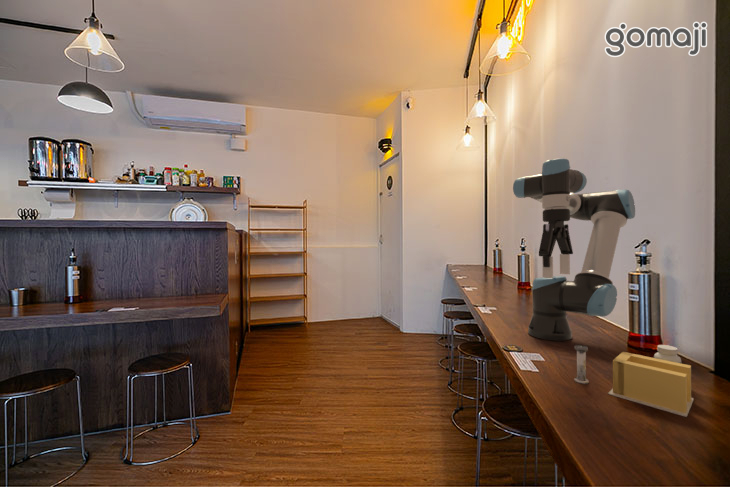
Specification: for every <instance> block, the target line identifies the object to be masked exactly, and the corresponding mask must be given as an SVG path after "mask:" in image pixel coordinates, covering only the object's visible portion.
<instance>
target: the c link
mask: <svg viewBox="0 0 730 487" xmlns="http://www.w3.org/2000/svg"><path fill="white" fill-rule="evenodd" d="M612 388H613V393H616V394H620V395H623V396H627V397H630V398H634V399H637V400H641V401H644V402H648V403H651V404H655V405H658V406H662V407H665V408H669V409H672V410H676V411H679V412H683V413H686V411H687V402H690V401H691V398H692V365H690V364H685V363H682V362H681V363H676V362H671V361H666V360H661V359H656V358H654V357H650V356H645V355H641V354H637V353H636V354H635V353H631V352H626V351H622V352H621V353H619V355H617V356H616V357H615V358H614V359H613V360H612Z"/></svg>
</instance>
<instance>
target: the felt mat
mask: <svg viewBox="0 0 730 487" xmlns="http://www.w3.org/2000/svg"><path fill="white" fill-rule="evenodd" d="M607 394H608V395H610V396H613V397H617V398H621V399H623V400H628V401H630V402H633V403H637V404H640V405H644V406H648V407H651V408H654V409H658V410H661V411H665V412H668V413H672V414H675V415H679V416H682V417H686V418H687V417H688V415H689V413H690V410H691V407H692V405H693V403H694V397H691V401H690V402H687V411H686V413H683V412H679V411H676V410H672V409H669V408H665V407H662V406H658V405H655V404H651V403H648V402H644V401H641V400H637V399H634V398H630V397H627V396H623V395H620V394H616V393H613V387H612V388H611V389H610V390H609V392H607Z"/></svg>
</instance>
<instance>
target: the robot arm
mask: <svg viewBox="0 0 730 487" xmlns="http://www.w3.org/2000/svg"><path fill="white" fill-rule="evenodd" d="M541 166H542V168H541V174H535V175H529V176H527V175H526V176H523V177H518V178H516V179H515V180H514V182H513V186H512V191H513V195H514V196H515V197H516V198H520V199H523V198H524V199H525V198H530V199H533V200H535V201H537V202H540V203H542V206H541V207H542V210H543V211H542V222H545V223H544V224H543V225H542V235H541V239H540V243H539V244H540V245H539V250H538V256H539V257H542V277H536V278H534V279H533V281H532V288H531V290H532V294H531V295H532V315H531V319H530V321H529V324H528V327H527V329H528V330H527V331H528V332H527V333H528V335H530V336H532V337H534V338H537V339H542V340H547V341H555V342H556V341H559V342H560V341H561V342H562V341H569V340H571V339H573V331H572V328H571V325H570V323H569V320H568V317H567V313H572V314H573V313H575V314H579V315H585V316H591V317H600V318H601V317H604V318H605V317H607V316H609V315H610V314H611V313H612V312H613V311H614V309H615V307H616V304H617V299H618V298H617V296H618V291H617V287H616V286H615V285H614V284H613V281H612V280H611V279H610V276H611V270H612V266H613V261H614V256H615V252H616V248H617V244H618V240H619V239H618V238H619V235H620V230H621V228H622V227H624V226H626V225H627V223H628V220H631V219H634V218H635V216H636V205H634V204H635V200H634V196H633V194H632V191H630V190H629V189H615V190H608V191H607V190H606V191H597V192H596V191H595V192H588V193H587V192H586V193H580V192H582V191H583V190H584V188H586V186H587V181H588V180H587V177H586V175H585V174H584V173H583V172H581V171H579V170H576V169H571V165H570V160H569V159H567V158H554V159H553V158H552V159H548V160H545V161H544V162H543V163H542V165H541ZM576 193H577V194H576ZM571 219H575V220H578V221H579V220H580V221H588V222H589V221H591V223H592V224H593V227H592V230H591V234H590V238H589V241H588V245H587V249H586V253H585V255H584V261H583V263H582V267H581V272H578V273H576V274H575V276H574V280H573V281H572V280H567V277H566V276H563V275H570V274H571V271H570V270H571V267H570V266H571V265H570V262H571V260H570V259H571V257H570V256H571V255H573V254H574V250H573V246H572V240H571V236H570V232H569V224H565V222H569V221H570V220H571ZM556 243H557V246H558V249H559V251H560V253H559V274H560V275H561V276H560V275H558V276H557V275H556V276H554V257H553V256H552V254H553V252H554V248H555V246H556Z"/></svg>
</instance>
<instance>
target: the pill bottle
mask: <svg viewBox="0 0 730 487" xmlns="http://www.w3.org/2000/svg"><path fill="white" fill-rule="evenodd" d="M656 349H657V352H655V353H654V355H653V358H656V359H661V360H666V361H671V362H676V363H681V364H682V358H681V357H680V356H679V355H678V354H679V353H678V352H679V349H678V348H677V347H676V346H672V345H668V344H658V345H657V348H656Z"/></svg>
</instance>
